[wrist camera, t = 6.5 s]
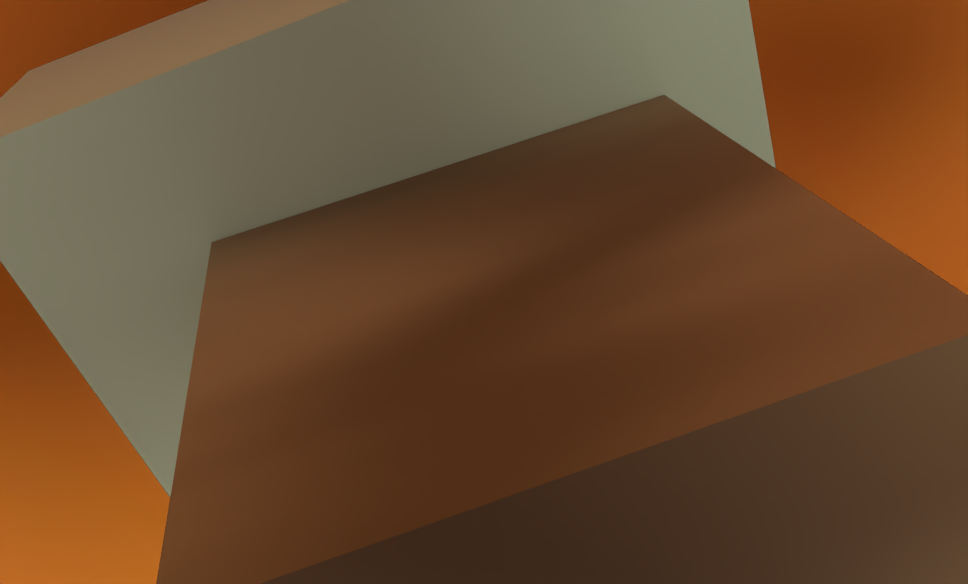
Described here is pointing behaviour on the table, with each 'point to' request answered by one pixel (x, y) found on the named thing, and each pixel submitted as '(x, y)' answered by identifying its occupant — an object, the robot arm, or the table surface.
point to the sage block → (301, 144)
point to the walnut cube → (575, 381)
